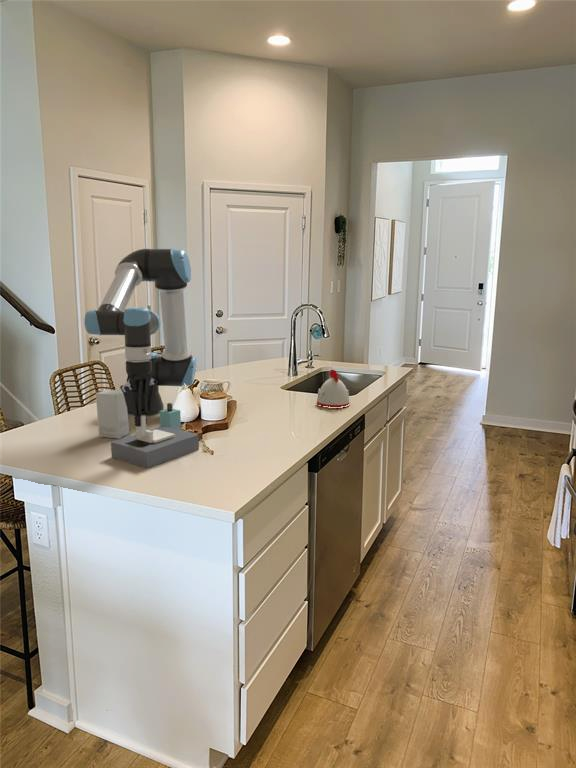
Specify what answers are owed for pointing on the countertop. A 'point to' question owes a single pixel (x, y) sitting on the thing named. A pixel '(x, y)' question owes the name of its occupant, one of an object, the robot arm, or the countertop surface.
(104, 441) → the countertop surface
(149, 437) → the white l-shaped bracket
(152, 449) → the socket block
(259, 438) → the countertop surface
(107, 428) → the skincare box
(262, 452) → the countertop surface
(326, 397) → the white knitted dome
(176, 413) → the teal square bottle
